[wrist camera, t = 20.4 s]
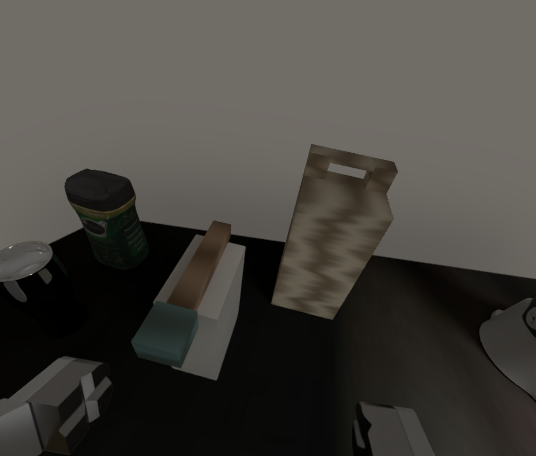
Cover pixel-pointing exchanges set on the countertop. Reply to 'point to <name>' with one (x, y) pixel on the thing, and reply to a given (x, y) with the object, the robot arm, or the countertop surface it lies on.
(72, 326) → the beer glass
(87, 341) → the countertop surface
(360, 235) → the brown boxy piece
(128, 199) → the coffee jar
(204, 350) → the pedestal
